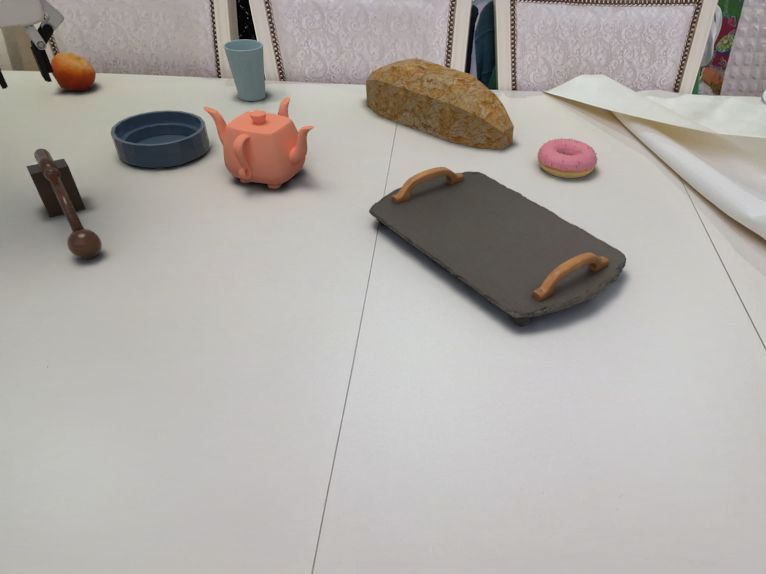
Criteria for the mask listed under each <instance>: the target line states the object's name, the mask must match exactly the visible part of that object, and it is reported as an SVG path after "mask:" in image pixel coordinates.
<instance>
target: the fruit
mask: <svg viewBox="0 0 766 574" xmlns="http://www.w3.org/2000/svg"><path fill="white" fill-rule="evenodd" d="M50 63H51V66H52V69H53V71H54V72H53V73H51V75H52V76H53V78H54V80H55V81H56V83H57V84H58V86H59V87H60V89H61V90H60V91H59V93H60V94H62V93H63V91H66V90H69V91H74V92H88V91H89V90H90V89H91V88H92V86H93V84H94V83H95V81H96V71H95V69H94V67H93V66H92V64H91V63H90V62H89V61H88V60H87V59H86V58H84V57H82V56H80V55H77V54H74V53H72V52H65V53H63V52H57V53H56V54H55V55H54V56H53V57H52V58H51V61H50Z"/></svg>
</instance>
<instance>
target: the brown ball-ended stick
mask: <svg viewBox="0 0 766 574" xmlns="http://www.w3.org/2000/svg"><path fill="white" fill-rule="evenodd" d="M33 155H34V159H35V160H36V164H38V165H39V167H40V169H41V171H42V173H43V175H44V177H45V178H46V179H47V180H48V181H49V182H50V184H51V186H52V188H53V190H54V193H55V195H56V197H57V199H58V201H59V203H60V205H61V208H62V210H63V212H64V214H63V215H64V216H65V219H66V220H67V222H68V225H69V227H70V229H71V231H72V232H71V233H70V234H69V235H68V237H67V243H66V244H67V248H68V250H69V251H70V253H71V254H72V255H74V256H75V257H77V258H79V259H86V260H87V259H92V258H95V257H96V256H98V255H99V253H100V252H101V250H102V245H103V244H102V239H101V238H100V237H99V235H98V234H97V233H95V232H94V231H92V230H90V229H87V228H84V226H83V223H82V222H81V220H80V218H79V215H78V213H77V211H75V209H74V207H73V205H72V202H71V200H70V198H69V196H68V194H67V192H66V190H65V188H64V185H63V183H62V181H61V179H60V177H61V174H60V172H59V170H58V168H57V166H56V164H55V162H54V159H53V156H52V155H51V153H50V152H49V151H48V150H47V149H44V148H37V149H36V150H35V151H34V153H33Z"/></svg>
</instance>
